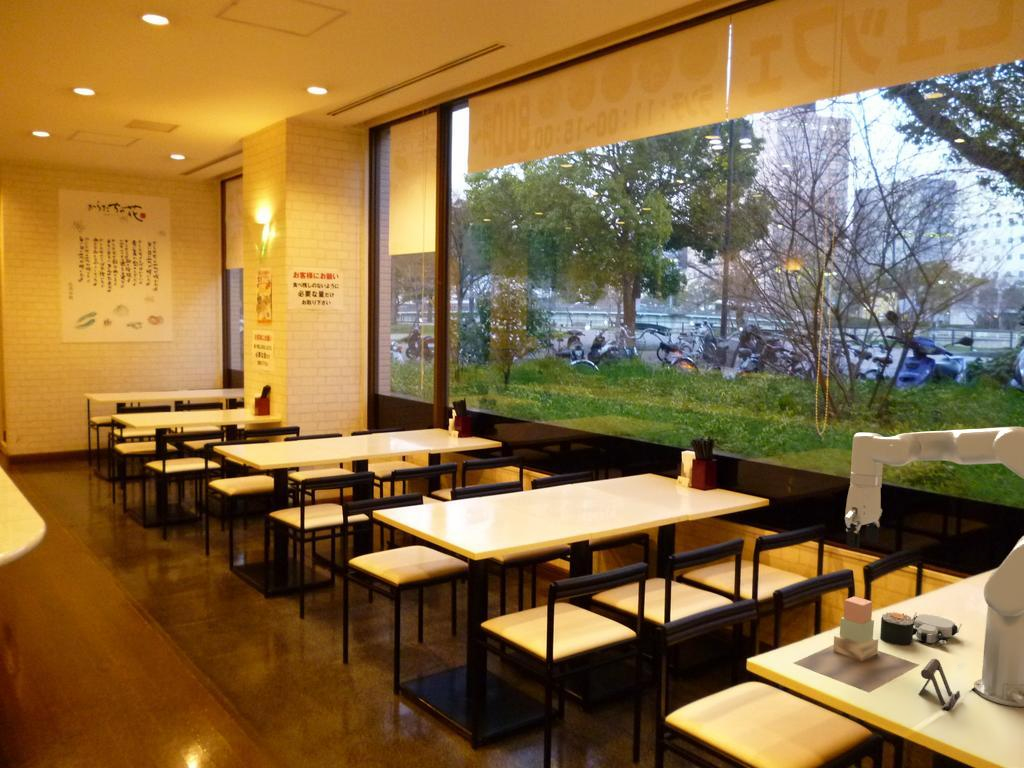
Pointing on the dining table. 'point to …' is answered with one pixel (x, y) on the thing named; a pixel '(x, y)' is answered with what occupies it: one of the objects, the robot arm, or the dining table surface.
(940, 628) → the robot toy
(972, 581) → the dining table surface
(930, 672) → the portable electronic device stand
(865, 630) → the green block
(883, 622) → the sushi
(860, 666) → the walnut board
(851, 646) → the birch base block
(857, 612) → the terracotta block
